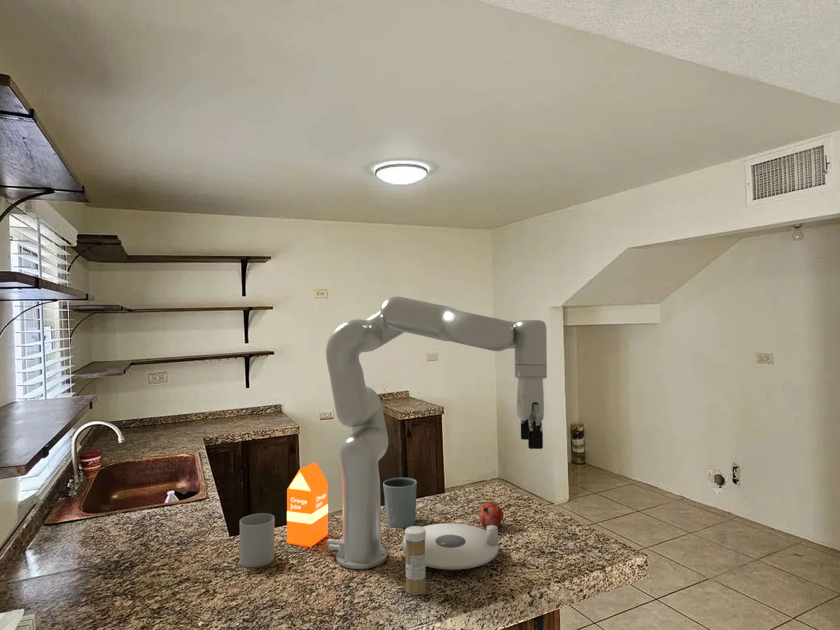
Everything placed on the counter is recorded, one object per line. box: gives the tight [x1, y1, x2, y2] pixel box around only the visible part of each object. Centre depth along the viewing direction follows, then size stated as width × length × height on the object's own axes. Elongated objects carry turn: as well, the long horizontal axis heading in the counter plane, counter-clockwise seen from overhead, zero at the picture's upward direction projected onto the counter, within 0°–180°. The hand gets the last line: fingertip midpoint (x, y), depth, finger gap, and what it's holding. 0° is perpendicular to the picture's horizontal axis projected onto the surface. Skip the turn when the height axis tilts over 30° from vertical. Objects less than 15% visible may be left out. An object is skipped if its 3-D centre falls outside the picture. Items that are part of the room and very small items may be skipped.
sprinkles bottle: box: [404, 525, 427, 596], centre depth 112 cm, size 5×5×13 cm
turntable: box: [402, 522, 499, 570], centre depth 129 cm, size 24×24×8 cm
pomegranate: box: [478, 501, 505, 528], centre depth 148 cm, size 7×7×10 cm
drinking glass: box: [382, 477, 418, 529], centre depth 153 cm, size 10×10×12 cm
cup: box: [239, 513, 276, 568], centre depth 128 cm, size 8×8×10 cm
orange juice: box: [286, 461, 329, 548], centre depth 141 cm, size 8×9×20 cm
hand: (531, 443), depth 122 cm, fingers open, 9 cm apart
